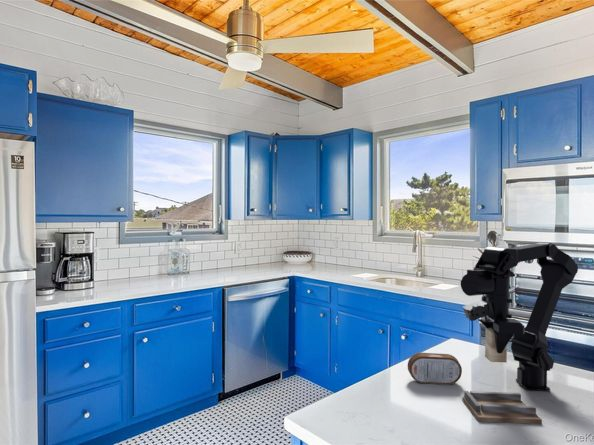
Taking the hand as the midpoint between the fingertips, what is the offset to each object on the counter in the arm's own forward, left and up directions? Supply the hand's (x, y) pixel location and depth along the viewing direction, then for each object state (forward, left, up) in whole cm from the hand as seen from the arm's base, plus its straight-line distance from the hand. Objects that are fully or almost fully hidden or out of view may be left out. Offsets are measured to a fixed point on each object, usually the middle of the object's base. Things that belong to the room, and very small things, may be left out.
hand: (495, 350), depth 105 cm
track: (+3, +10, -12) cm, 16 cm away
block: (0, 0, -3) cm, 3 cm away
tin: (+14, -6, -12) cm, 20 cm away
